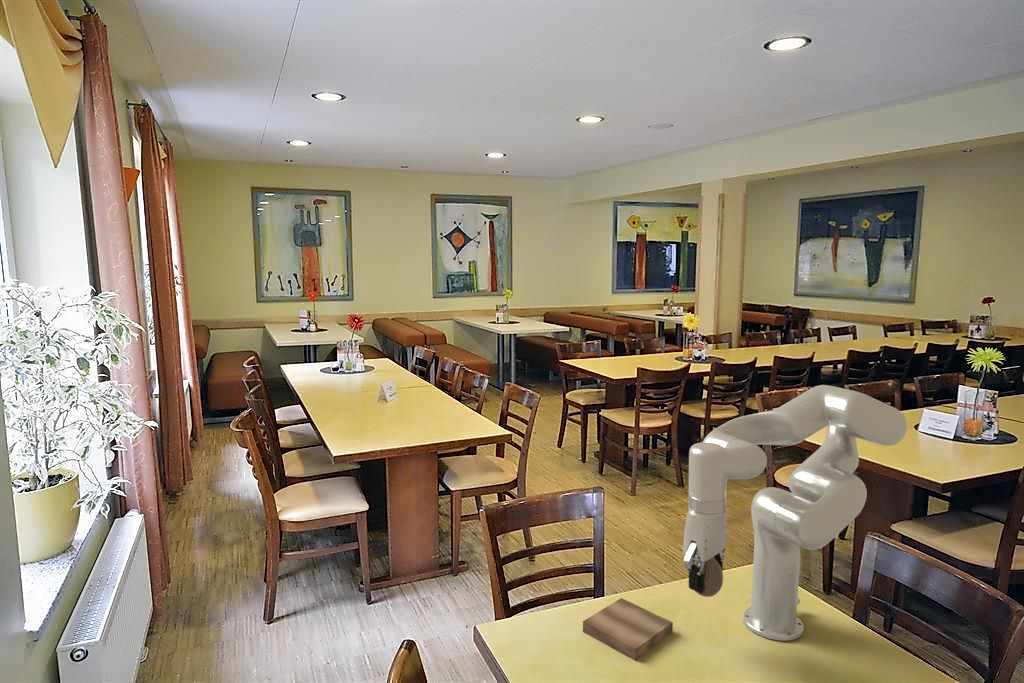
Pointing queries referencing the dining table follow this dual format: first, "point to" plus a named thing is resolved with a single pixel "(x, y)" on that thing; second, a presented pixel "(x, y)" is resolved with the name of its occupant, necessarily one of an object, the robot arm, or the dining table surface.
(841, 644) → the dining table surface
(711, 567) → the vase
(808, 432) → the robot arm
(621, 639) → the plinth
